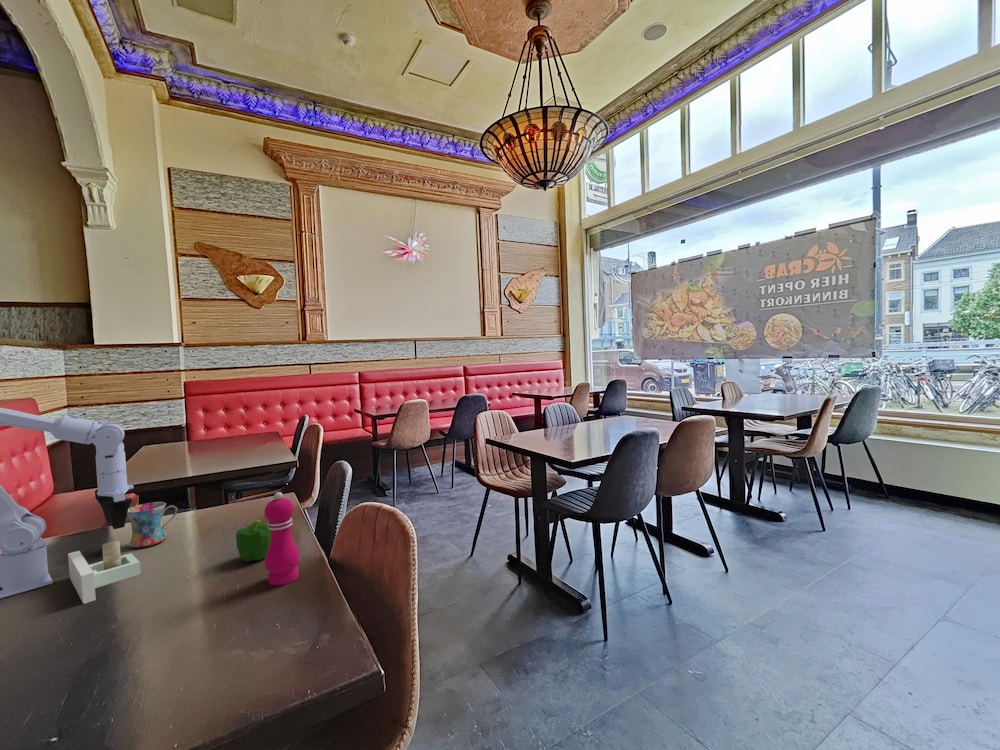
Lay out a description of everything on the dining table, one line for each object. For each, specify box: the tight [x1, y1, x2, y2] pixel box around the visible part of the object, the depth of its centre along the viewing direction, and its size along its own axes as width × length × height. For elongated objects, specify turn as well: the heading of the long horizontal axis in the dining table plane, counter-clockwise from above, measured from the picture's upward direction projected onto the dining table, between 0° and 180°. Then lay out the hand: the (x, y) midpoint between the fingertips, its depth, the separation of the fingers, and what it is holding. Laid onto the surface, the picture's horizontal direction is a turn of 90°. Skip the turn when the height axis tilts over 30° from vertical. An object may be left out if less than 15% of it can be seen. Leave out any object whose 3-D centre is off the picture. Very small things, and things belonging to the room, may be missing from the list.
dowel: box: [101, 540, 122, 570], centre depth 110 cm, size 3×3×8 cm
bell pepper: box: [235, 519, 271, 563], centre depth 117 cm, size 8×8×10 cm
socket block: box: [88, 552, 142, 589], centre depth 110 cm, size 9×9×3 cm
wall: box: [67, 550, 97, 605], centre depth 104 cm, size 2×20×6 cm, turn 49°
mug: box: [127, 501, 178, 549], centre depth 132 cm, size 12×9×11 cm
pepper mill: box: [264, 491, 301, 586], centre depth 104 cm, size 7×7×20 cm
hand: (115, 524), depth 116 cm, fingers open, 7 cm apart
